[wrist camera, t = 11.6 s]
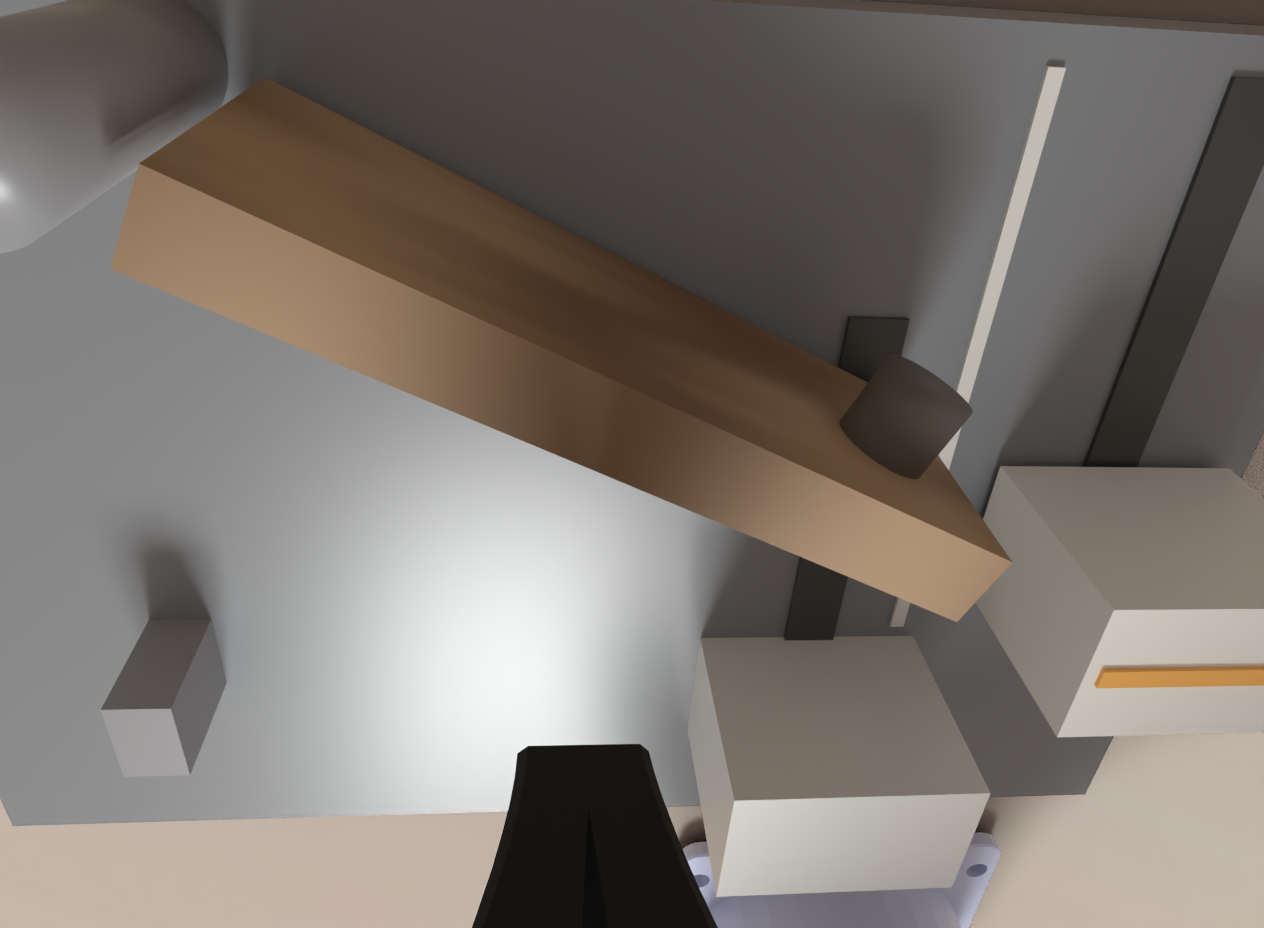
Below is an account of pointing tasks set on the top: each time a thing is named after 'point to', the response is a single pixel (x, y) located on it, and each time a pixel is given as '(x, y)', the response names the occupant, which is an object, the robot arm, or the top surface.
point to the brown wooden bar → (555, 342)
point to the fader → (1132, 597)
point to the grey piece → (556, 487)
